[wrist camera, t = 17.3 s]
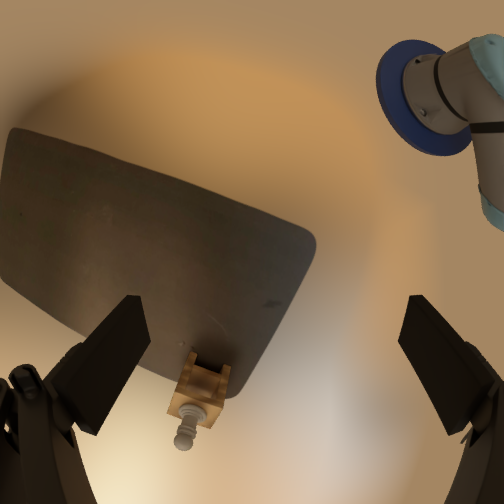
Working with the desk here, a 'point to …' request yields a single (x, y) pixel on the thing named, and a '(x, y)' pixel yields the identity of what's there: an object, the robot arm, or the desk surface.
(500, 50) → the robot arm
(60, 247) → the desk surface
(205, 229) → the desk surface
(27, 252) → the desk surface
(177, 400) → the shelf
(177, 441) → the chess piece
